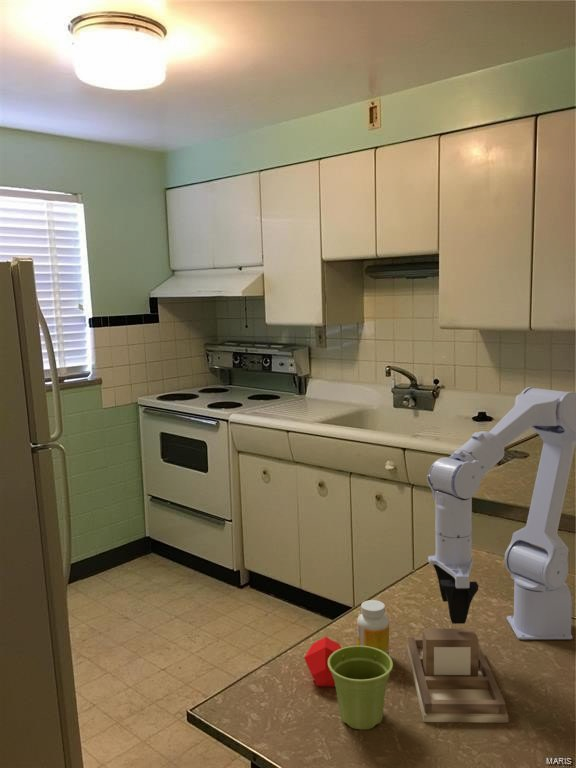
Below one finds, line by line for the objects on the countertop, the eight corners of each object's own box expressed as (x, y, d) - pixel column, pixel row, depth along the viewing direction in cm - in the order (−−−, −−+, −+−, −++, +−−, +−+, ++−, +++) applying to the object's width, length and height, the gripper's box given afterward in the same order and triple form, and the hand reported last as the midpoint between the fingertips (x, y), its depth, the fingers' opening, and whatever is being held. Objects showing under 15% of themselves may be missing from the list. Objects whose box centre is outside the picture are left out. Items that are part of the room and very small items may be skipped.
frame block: (473, 669, 106) (473, 628, 106) (478, 682, 103) (478, 640, 102) (422, 669, 107) (422, 628, 106) (426, 682, 103) (426, 640, 102)
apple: (343, 665, 101) (342, 623, 108) (300, 670, 102) (302, 628, 109) (352, 694, 104) (351, 652, 111) (310, 698, 106) (312, 656, 113)
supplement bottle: (350, 657, 113) (350, 604, 112) (372, 646, 116) (372, 595, 115) (374, 670, 109) (373, 615, 108) (395, 659, 112) (395, 605, 111)
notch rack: (476, 649, 115) (476, 635, 114) (508, 722, 95) (508, 706, 94) (406, 649, 115) (406, 635, 115) (423, 721, 95) (423, 705, 95)
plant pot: (329, 738, 93) (328, 680, 91) (328, 698, 102) (327, 645, 101) (396, 738, 92) (396, 680, 91) (389, 698, 101) (389, 644, 100)
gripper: (421, 517, 115) (422, 591, 116) (436, 549, 100) (436, 633, 102) (462, 516, 114) (462, 591, 116) (483, 548, 100) (483, 633, 102)
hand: (453, 611), depth 109 cm, fingers open, 7 cm apart
